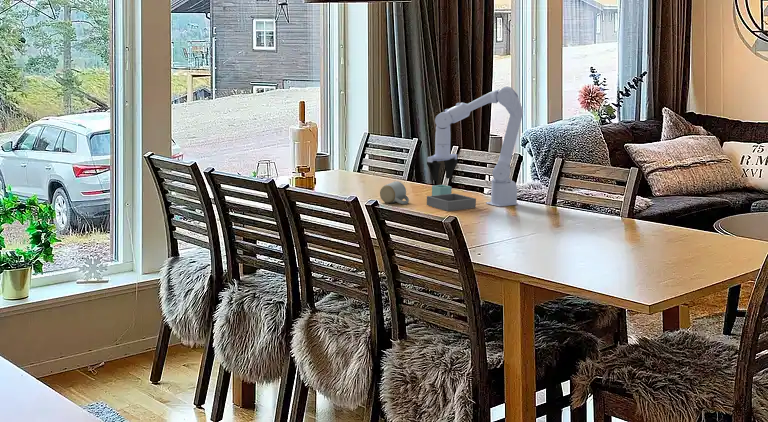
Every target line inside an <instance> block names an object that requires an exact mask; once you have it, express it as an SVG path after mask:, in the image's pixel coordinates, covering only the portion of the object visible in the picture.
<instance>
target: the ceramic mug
mask: <svg viewBox="0 0 768 422" xmlns="http://www.w3.org/2000/svg"><path fill="white" fill-rule="evenodd" d="M379 196H380V199H381V200H382V202H384V203H385V204H394V203H398V204H400V205H407V204H408V203H409V201H410V199H409V197H408V195H407V188H406V187H405V185H404V184H403V183H402V182H401V181H399V180H395V181H392V182H389V183H388V184H384V185H383V186H382V187H381V188H380V190H379Z"/></svg>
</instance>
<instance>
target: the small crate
mask: <svg viewBox="0 0 768 422" xmlns="http://www.w3.org/2000/svg"><path fill="white" fill-rule="evenodd" d="M452 191H453V187H452V186H450V185H446V184H436V185H431V196H434V195H444V194H453V193H452Z"/></svg>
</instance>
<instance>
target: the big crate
mask: <svg viewBox="0 0 768 422" xmlns="http://www.w3.org/2000/svg"><path fill="white" fill-rule="evenodd" d="M427 205H429V206H428V207H430V206H432V208H434V207H435V209H438V210H442V211H446V212H451V211H459V210H469V209H476V208H477V207H476V205H477V198H476V197H475V198H474V197H473V196H472V197H470V196H466V195H463V194H459V193H451V194H444V195H434V196H432V195H427V196H426V206H427Z"/></svg>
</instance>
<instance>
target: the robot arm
mask: <svg viewBox="0 0 768 422" xmlns="http://www.w3.org/2000/svg"><path fill="white" fill-rule="evenodd" d="M497 103H499V104H500V105H502V106H503V107H504V108H505V109H506V111H507V112H508V114H509V118H508V120H507V121H508V123H507V125H506V130H505V134H504V137H503V141H502V145H501V149H500V154H499V157H498V161H497V163H496V165H495V166H494V168H493V170H492V173H491V174H492V179H491V189H490V190H491V191H490V193H491V195H490V201H487V202H485V203H486V204H488V205H491V206H495V207H507V206H516V205H519V202H517V201H518V200H517V199H518V186H517V183H516V182H515V181H514V180H512V179H511V178H510V174H511V171H512V168H511V161H512V158H513V157H512V156H513V153H514V149H515V145H516V142H517V137H518V134H519V131H520V126H521V123H522V119H523V114H524V109H523V106H522V104H521V101H520V98H519V96H518V93H517V92H516V91H515V90H514V88H513V87H510V86H503V87H502V88H501V89H500V88H499V89H495V90H492V91H490V92H488V93H486V94H483V95H482V96H480V97H478V98H476V99H474V100H472V101H471V102H468V103H465V102H457V103H455V106H452V107H450V108H446V109H444V111H442V112H440V113H438V114H437V115H436V116H435V120H434V123H435V125H436V127H435V135H434V137H435V139H434V140H435V142H434V146H435V148H434V149H435V150H434V154H433V155H431V156H427V161H426V165H427V166H428V169H429V171H430V175H431V179H432V181H435V182H438V181H439V173H440V168H441V165H442V164H441V163H440V162H442V161H443V163H444V166H445V179H449V180H451V179H452V178H453V175H454V174H453V173H454V170H455V168H456V166H457V164H458V161H459V160H458V154H457V153H451V137H452V136H451V134H452V133H451V132H452V131H451V125H452V124H455V123H459V121H462V120H464V119H466V118H468V117H470V114H471V112H472V111H474V110H476V109H479V108H481V107H483V106H485V105H487V104H497Z"/></svg>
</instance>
